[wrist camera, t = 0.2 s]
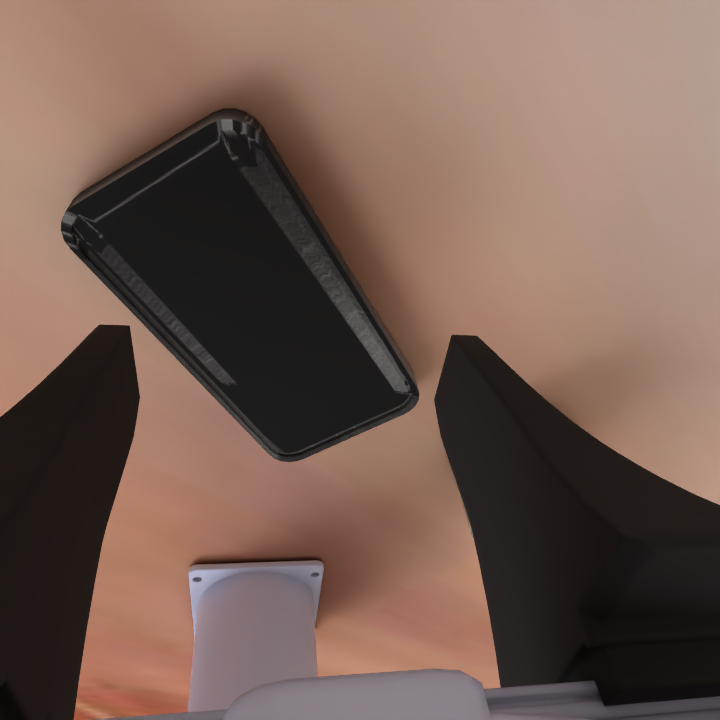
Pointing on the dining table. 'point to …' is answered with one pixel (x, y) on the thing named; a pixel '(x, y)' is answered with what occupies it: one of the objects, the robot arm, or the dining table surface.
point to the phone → (243, 286)
